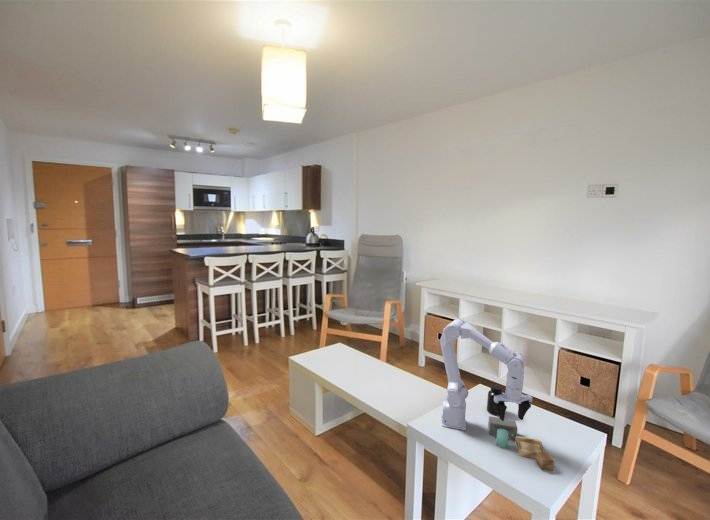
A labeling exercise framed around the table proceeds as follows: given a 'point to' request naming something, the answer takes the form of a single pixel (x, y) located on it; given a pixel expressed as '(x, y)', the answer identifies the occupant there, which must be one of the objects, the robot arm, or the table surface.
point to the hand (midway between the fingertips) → (510, 419)
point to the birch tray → (528, 446)
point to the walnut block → (544, 461)
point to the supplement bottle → (490, 401)
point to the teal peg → (502, 438)
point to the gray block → (502, 426)
